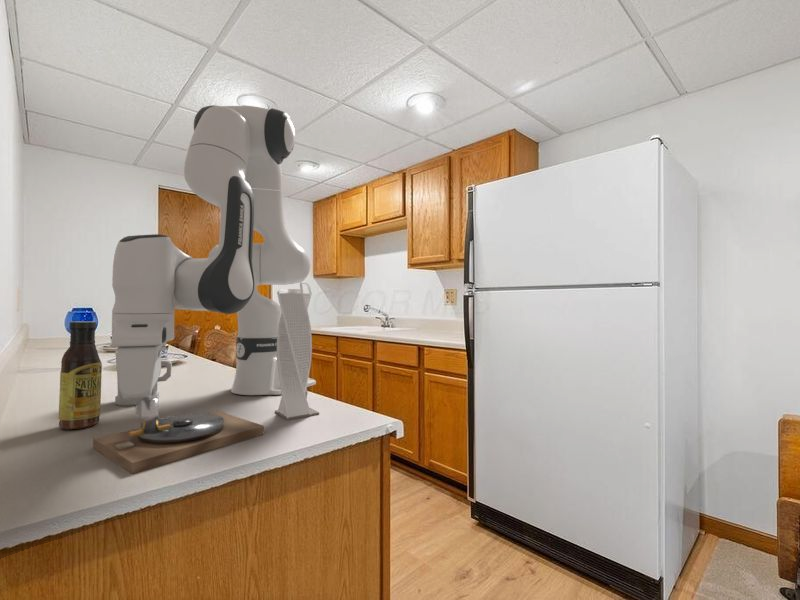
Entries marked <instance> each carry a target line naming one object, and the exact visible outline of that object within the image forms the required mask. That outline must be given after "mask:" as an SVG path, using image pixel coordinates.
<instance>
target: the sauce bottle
mask: <svg viewBox="0 0 800 600" xmlns="http://www.w3.org/2000/svg"><path fill="white" fill-rule="evenodd" d="M96 329H97V321H92V320H91V321H88V320H87V321H80V320H79V321H77V320H76V321H70V322H69V331H70V339H69V340H70V341H69V347H68V348H67V349H66V351H65V352H64V354H63V356H62V358H61V362H60V364H61V366H60V367H61V369H60V376H59V401H58V420H59V423H58V427H59V429H61V430H69V431H70V430H71V431H72V430H79V429H85V428H90V427H93V426H94V425H96V424H98V423H99V421H100V416H101V399H102V398H101V396H102V369H103V364H102V361H101V358H100V355H99V353H98V349H97V346H96V339H95V338H96V337H95V336H96Z"/></svg>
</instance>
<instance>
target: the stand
mask: <svg viewBox="0 0 800 600" xmlns="http://www.w3.org/2000/svg"><path fill="white" fill-rule="evenodd" d="M204 414H214V415H218V416H221V417H223V418H224V427H223V429H222V430H220V431H219V432H217V433H215V434H213V435H210V436H207V437H204V438H200V439H196V440H191V441H186V442H178V443H164V444H158V443H147V442H143V441H141V440H139V439H138V435H133V436H130V435H129V432H131V431H136V430H138V429H139V428H140V427H138V428H135V429H129V430H125V431H120V432H117V433H112V434H108V435H101V436H98V437H95V438H92V449H94V450H96V451H97V452H99V453H100V454H102V455H103V456H104V457H106V458H108V459H109V460H110V461H113V462H114V463H116V464H117V465H119V466H120V467H122V468H123V469H125V470H127V471H128V472H129V473H131V474H133V475H134V474H136V473H139V472H142V471H146V470H149V469H152V468H156V467H158V466H159V467H160V466H162V465H166V464H170V463H173V462H176V461H178V460H182V459H186V458H190V457H193V456H195V455H200V454H202V453H205V452H209V451H212V450H216V449H219V448H222V447H225V446H228V445H232V444H235V443H239V442H243V441H245V440H249V439H253V438H256V437H258V436H262V435H264V434H265V426H264V425H262V424H260V423H258V422H257V423H256V422H252V421H250V420H247V419H244V418H240V417H237V416H235V415H231V414H229V413H225V412H222V411H219V410H215V411H209V412H206V413H204Z"/></svg>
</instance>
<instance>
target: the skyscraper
mask: <svg viewBox="0 0 800 600" xmlns="http://www.w3.org/2000/svg"><path fill="white" fill-rule="evenodd" d="M303 284H304V285H306V286H307V289H308V293H304V289H303V288H304V287H303ZM282 292H283V293H282ZM276 294H277V297H278V305H279V306H280V308H281V312H282V313H281V317H280V322H279V328H278V336H277V364H278V374H279V381H280V387H281V393H282V394H281V398H280V402H279V405H278V407H277V408H278V409H276V410H275V409H274V413H275V414H277V415H278V416H280V417H282V418H283V419H284V420H286V421H290V420H295V419H301V418H309V417H313V416H318V415H320V412H319V411H318V410H316V409H313V408H311V407H310V406H309V402H308V392H309V391H308V387H307V383H308V378H310V377H309V376H310V370H311V363H312V354H313V353H312V352H313V338H312V328H311V326H312V325H311V321H310V316H309V311H308V309H309V305H310V302H311V297H312V294H313V293H312V291H311V286H310V285H309V284H308V282H307V281H305V280H304V281H302V282H300V283H299V288H292V289H291V288H288V289H283V288H281V289H278V290H277V291H276Z"/></svg>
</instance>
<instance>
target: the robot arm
mask: <svg viewBox="0 0 800 600" xmlns="http://www.w3.org/2000/svg"><path fill="white" fill-rule="evenodd" d="M295 140H296V132H295V127H294V122H293V119H291V117H290V115H288V113H287V112H285V111H282V110H281V109H276V108H265V107H259V106H253V105H243V104H242V105H217V104H214V105H207V106H203V107H202V108H200V109H199V110H198V112H197V113H196V114H195V116H194V120H193V134H192V135H191V139H190V142H189V146H188V150H187V153H186V157H185V161H184V167H183V168H184V171H183V172H184V174H183V175H184V176H183V177H184V179H185V182H186V184H187V186H188V187H189V189H190V191H192V192H193V193H194V194H195V195H196V196H197V197H199V198H200V199H202V200H203V201H206V202H207V203H209V204H211V205H214V206H216V207H218V208H219V210H220V221H219V222H220V223H219V224H220V225H219V235H218V237H219V239H218V244H216V245H215V246H214V247H212V249H211V250H210V251H209V253H208V256H207V257H205V258H201V257H199V258H194V257H193V256H191V255H189V254H187V253H185V252H183V250H181V249H180V248H178V247H177V245H175V244H174V243H173V241H172V239H171V237H170V236H168V235H165V234H158V233H154V234H153V233H152V234H139V235H138V234H137V235H136V234H135V235H128V236H124V237H123V238H121V239H120V240H119V241H118V242H117V245H116V247H115V251H114V257H113V263H112V276H111V277H112V280H111V281H112V284H111V285H112V290H113V292H114V304H113V308H112V310H111V311H112V312H111V313H112V314H111V347H113V348H116V351H117V365H116V370H117V369H118V381H119V389H120V393H121V396H122V398H124V399H127V398H135V401H136V405H135V407H136V408H135V410H136V412H135V413H136V415H138V416H141V400H142V399H144V398H151V393H152V389H153V387H154V385H155V383H156V382H157V380H158V378H159V377H161V373H162V365H161V360H162V352H164V351H166V348H167V345H166V344H167V343H168V342H170V341H171V342H172V341H173V340H175V314H176V313H175V309H176V310H183V311H184V310H185V311H187V310H188V311H195V312H196V311H198V312H199V311H200V312H201V311H202V312H205V311H206V312H207V311H208V312H212V313H213V312H214V313H219V314H226V315H233V314H237V317H236V318H237V337H236V344H235V353H236V365H235V366H236V367H235V375H234V380H233V384H232V387H231V389H230V390H231V392H230V393H233V394H236V395H242V396H263V395H264V396H265V395H266V396H267V395H269V396H270V395H271V396H272V395H273V396H274V395H276V396H279V395H281V396H282V393H281V387H280V381H279V374H278V364H277V336H278V328H279V322H280V317H281V313H282V312H281V308H280V304H279V303H277V302H276V301H274V300H273V299H271V298H269V297H267V296H264V295H262V294H261V293H260V292H259V291H258V286H261V285H267V286H268V285H270V286H271V285H274V286H275V285H278V286H286V285H287V286H288V285H294V284H298V283H299V284H300V283H301V282H302V281H304V282H305V279H306V278H307V277H308V276H309V274H310V271H311V270H310V269H311V260H310V257H309V255H308V253H307V251H306V250H305V249H304V248H303V247H302V246H300V245H299V244H298V243H297V242H296V241H295V240H294V238H293V237H292V236H291V234H290V232H289V231H288V227H287V226H286V222H285V215H284V213H285V212H284V183H283V182H284V181H283V180H284V179H283V170H282V163H283V162H284V160H285V159H287V158H288V157H289V156H290V155H291V154H292V151H293V150H294V147H295V142H296V141H295ZM254 231H255V232H257V233H258V234H260V235H261V236H262V239H263V240H264V241H263V242H261V243H258V242H255V243H254ZM157 383H158V382H157ZM316 384H317V381H316V380H315V379H314V378H310V377H309V378H308V383H307V388H309V387H311V386H315V385H316Z"/></svg>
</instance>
